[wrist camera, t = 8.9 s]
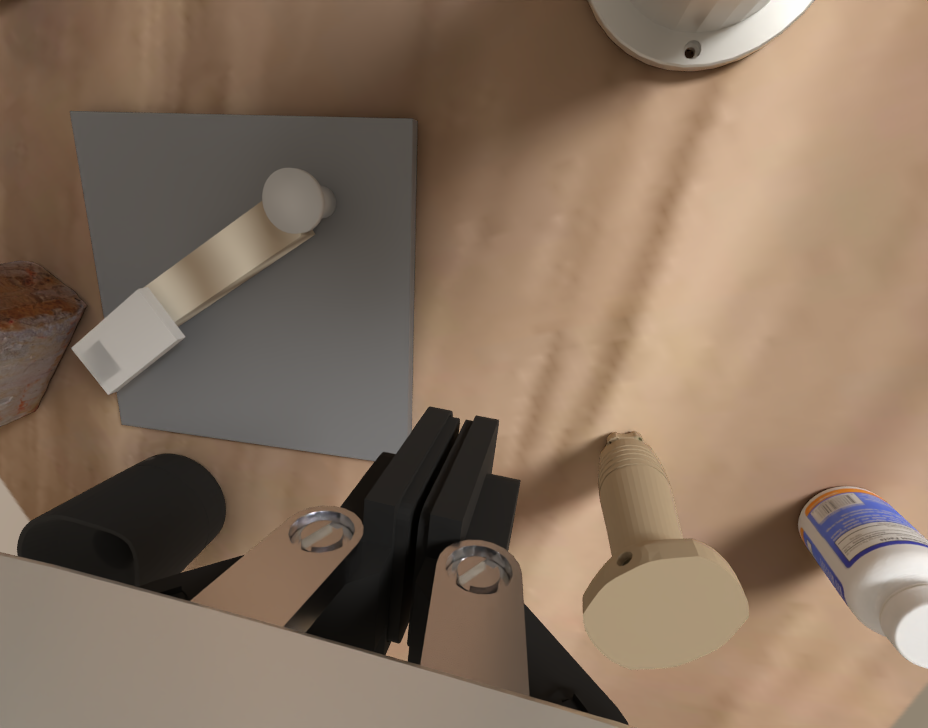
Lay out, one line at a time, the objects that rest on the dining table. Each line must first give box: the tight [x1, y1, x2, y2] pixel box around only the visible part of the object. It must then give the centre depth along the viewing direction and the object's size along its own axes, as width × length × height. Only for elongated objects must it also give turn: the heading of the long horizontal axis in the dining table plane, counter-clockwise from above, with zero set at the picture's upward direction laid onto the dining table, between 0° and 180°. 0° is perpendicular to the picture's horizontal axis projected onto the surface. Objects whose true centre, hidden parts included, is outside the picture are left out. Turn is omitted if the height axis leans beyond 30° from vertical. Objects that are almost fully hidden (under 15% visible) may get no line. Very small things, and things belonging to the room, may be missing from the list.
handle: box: [583, 431, 749, 670], centre depth 27 cm, size 5×6×15 cm
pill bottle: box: [798, 486, 928, 668], centre depth 28 cm, size 5×5×10 cm
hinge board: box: [70, 111, 418, 461], centre depth 34 cm, size 23×24×5 cm
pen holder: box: [17, 454, 226, 587], centre depth 39 cm, size 9×9×10 cm
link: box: [144, 201, 315, 327], centre depth 34 cm, size 15×3×2 cm, turn 120°
